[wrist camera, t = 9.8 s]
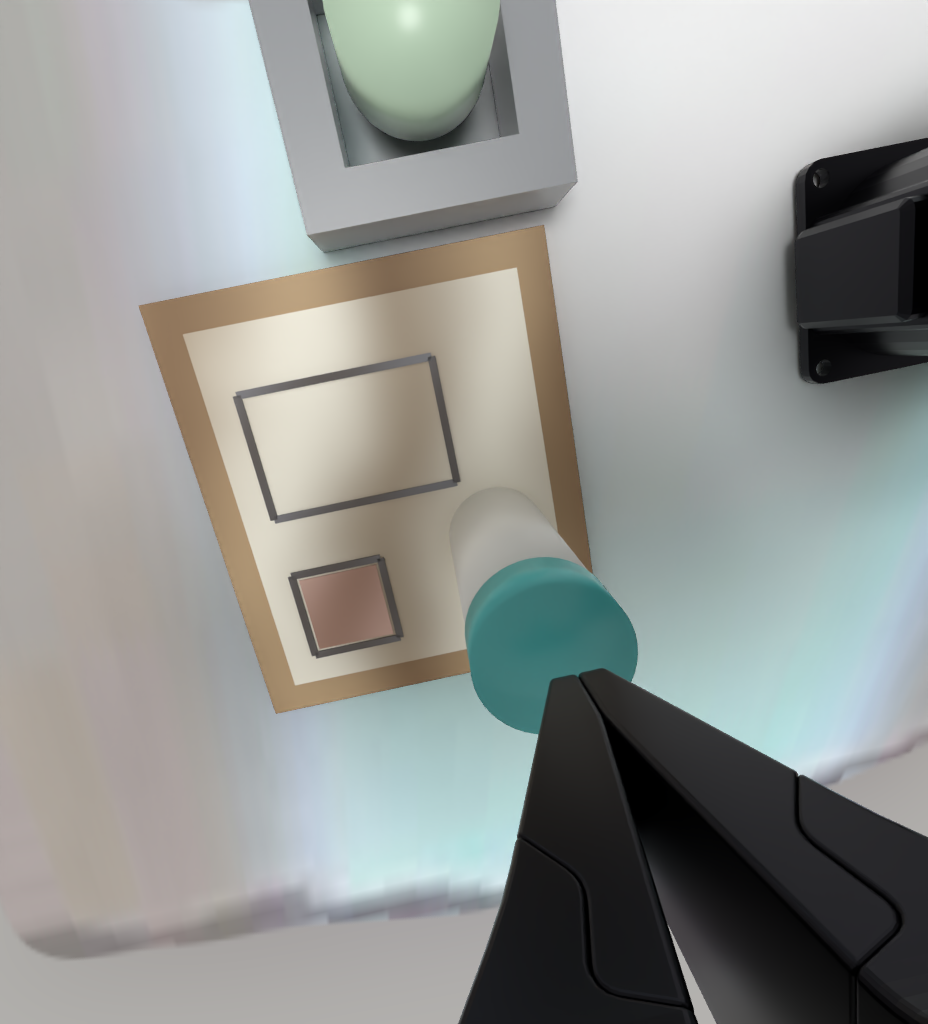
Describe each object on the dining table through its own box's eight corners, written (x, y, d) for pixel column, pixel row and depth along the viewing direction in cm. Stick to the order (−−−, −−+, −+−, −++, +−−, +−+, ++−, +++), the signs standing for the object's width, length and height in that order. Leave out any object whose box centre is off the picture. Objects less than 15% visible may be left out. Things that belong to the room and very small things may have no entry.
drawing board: (541, 228, 17) (545, 223, 16) (599, 638, 21) (604, 645, 20) (145, 307, 17) (135, 305, 16) (278, 706, 21) (274, 716, 20)
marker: (537, 476, 18) (628, 566, 11) (552, 568, 19) (645, 715, 11) (438, 496, 18) (455, 602, 10) (458, 588, 19) (486, 749, 11)
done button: (471, -46, 13) (483, -134, 11) (498, 126, 14) (513, 80, 12) (321, -17, 13) (300, -100, 11) (358, 153, 14) (346, 112, 12)
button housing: (516, -85, 15) (534, -170, 12) (555, 206, 17) (577, 181, 14) (253, -35, 15) (220, -111, 12) (323, 252, 17) (307, 235, 14)
